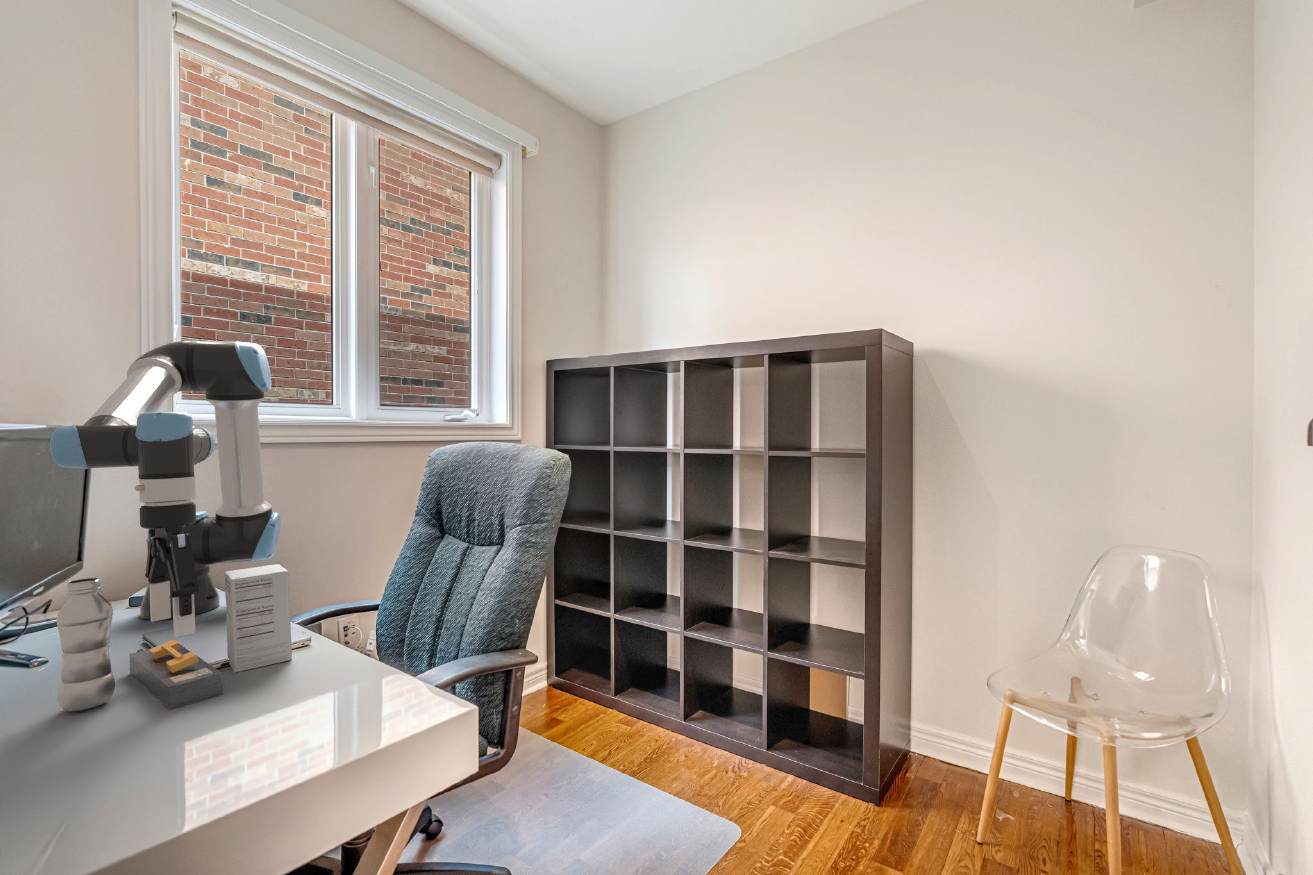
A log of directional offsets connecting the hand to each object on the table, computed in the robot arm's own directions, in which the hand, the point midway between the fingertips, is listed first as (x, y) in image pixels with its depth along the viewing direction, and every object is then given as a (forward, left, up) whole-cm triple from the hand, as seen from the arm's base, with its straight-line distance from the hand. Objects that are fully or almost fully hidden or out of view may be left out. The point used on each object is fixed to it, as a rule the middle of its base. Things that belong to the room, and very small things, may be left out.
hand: (172, 626), depth 105 cm
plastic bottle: (0, -11, -10) cm, 15 cm away
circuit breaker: (-5, 0, -10) cm, 11 cm away
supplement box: (0, +13, -10) cm, 16 cm away
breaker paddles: (0, 0, -5) cm, 5 cm away
